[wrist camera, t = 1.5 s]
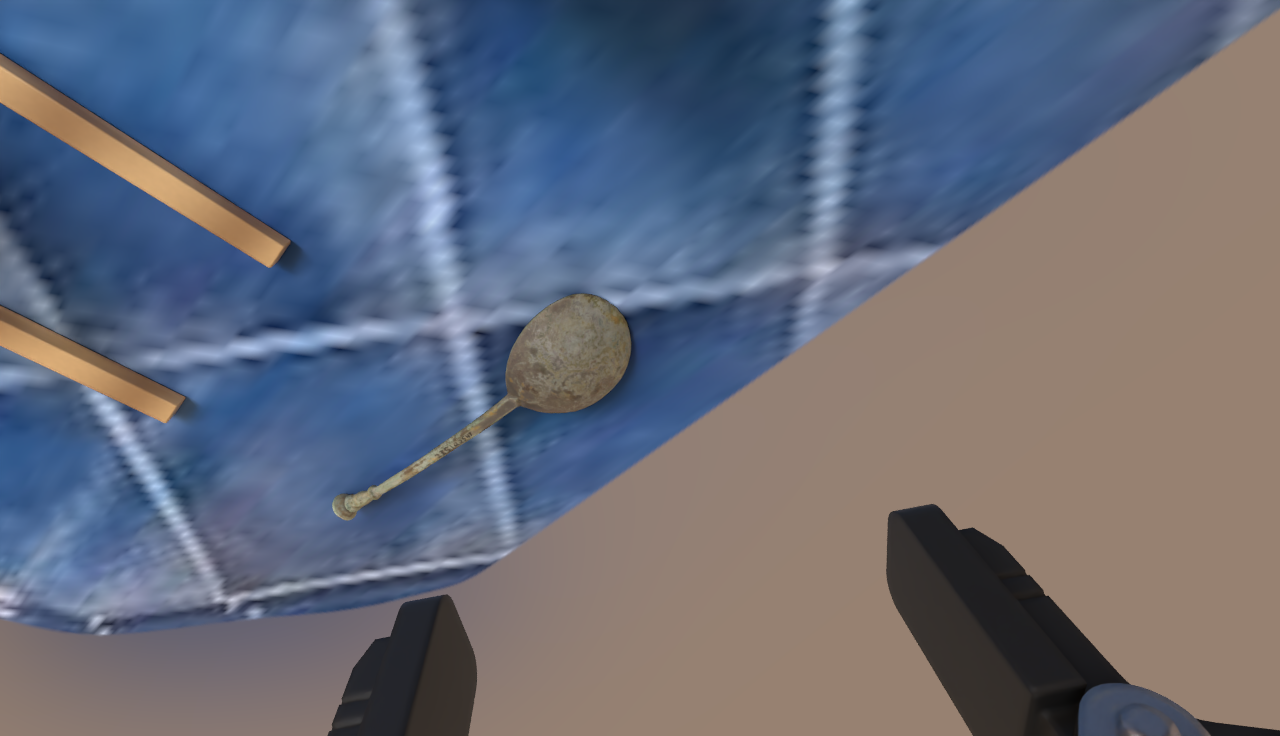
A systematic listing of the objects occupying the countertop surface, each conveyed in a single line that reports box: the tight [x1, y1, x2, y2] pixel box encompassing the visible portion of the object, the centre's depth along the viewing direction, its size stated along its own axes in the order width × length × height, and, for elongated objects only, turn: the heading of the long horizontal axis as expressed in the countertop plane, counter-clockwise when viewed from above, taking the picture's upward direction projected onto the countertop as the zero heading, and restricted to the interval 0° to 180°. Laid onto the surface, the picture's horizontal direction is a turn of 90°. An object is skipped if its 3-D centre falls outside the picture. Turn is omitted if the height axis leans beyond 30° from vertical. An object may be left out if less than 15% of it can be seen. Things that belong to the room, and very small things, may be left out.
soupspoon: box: [332, 294, 631, 520], centre depth 36 cm, size 22×3×7 cm
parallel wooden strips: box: [0, 54, 291, 423], centre depth 28 cm, size 20×14×1 cm
